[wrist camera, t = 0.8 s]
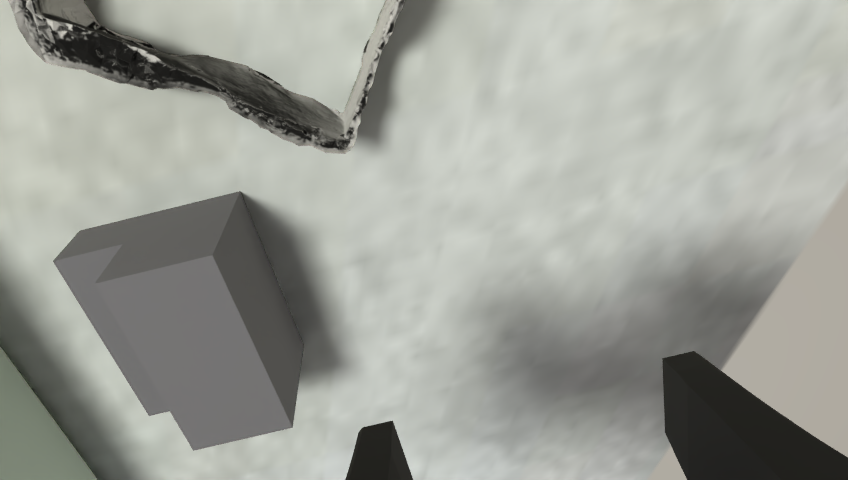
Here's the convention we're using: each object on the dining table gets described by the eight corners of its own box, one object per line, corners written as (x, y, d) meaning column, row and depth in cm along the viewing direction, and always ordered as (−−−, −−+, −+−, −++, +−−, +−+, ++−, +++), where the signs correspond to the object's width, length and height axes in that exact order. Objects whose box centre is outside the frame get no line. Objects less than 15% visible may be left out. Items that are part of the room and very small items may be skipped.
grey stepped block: (304, 341, 21) (292, 427, 18) (166, 374, 21) (127, 465, 18) (241, 188, 18) (212, 255, 15) (82, 227, 18) (16, 302, 15)
